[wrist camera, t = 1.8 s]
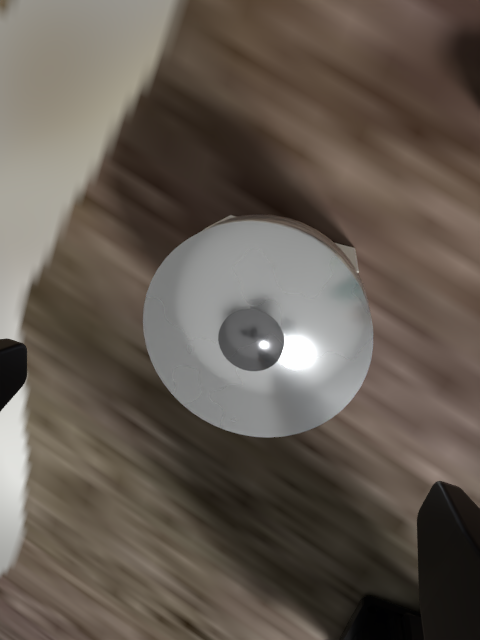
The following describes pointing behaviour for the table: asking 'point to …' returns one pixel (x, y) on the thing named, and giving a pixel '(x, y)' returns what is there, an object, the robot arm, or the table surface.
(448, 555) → the robot arm
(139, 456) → the table surface
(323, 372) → the disc
